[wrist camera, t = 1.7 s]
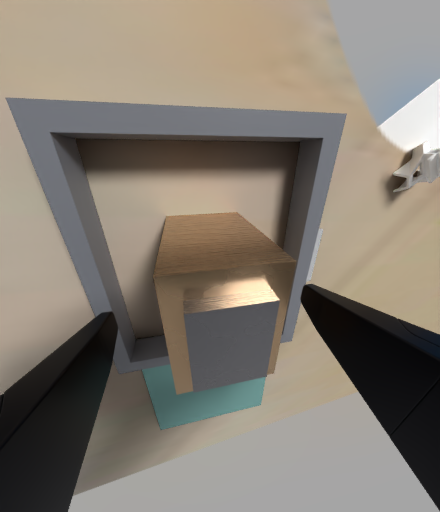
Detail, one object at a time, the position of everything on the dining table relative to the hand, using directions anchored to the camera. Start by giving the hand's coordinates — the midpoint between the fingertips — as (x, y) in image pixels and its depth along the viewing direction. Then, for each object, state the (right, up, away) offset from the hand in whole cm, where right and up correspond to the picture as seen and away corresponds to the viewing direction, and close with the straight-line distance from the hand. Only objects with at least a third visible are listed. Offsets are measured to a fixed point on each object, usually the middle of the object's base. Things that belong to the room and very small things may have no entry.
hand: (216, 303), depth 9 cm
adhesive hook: (+12, +8, +5) cm, 16 cm away
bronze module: (-1, +2, +4) cm, 5 cm away
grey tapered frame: (-1, +2, +4) cm, 5 cm away
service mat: (-1, -11, +11) cm, 16 cm away
